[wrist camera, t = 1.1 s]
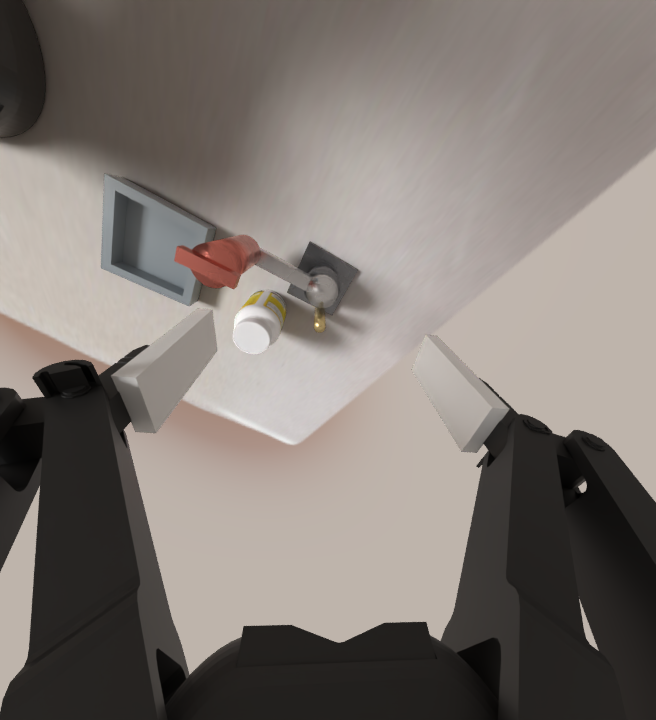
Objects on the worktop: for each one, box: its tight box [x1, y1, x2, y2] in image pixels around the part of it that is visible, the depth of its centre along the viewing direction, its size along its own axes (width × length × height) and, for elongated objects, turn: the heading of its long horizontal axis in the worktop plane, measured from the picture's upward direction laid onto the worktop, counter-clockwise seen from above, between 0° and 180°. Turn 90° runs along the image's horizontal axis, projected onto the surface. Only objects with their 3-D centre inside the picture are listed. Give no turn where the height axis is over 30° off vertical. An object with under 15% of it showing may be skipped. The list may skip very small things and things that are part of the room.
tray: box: [101, 173, 216, 306], centre depth 27 cm, size 10×10×2 cm
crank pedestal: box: [287, 242, 358, 333], centre depth 29 cm, size 7×8×6 cm
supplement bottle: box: [233, 290, 286, 354], centre depth 29 cm, size 5×5×10 cm
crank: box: [174, 235, 338, 308], centre depth 22 cm, size 13×4×11 cm, turn 62°
